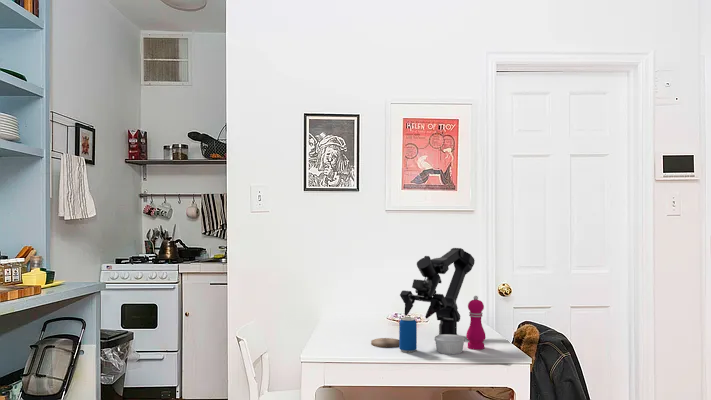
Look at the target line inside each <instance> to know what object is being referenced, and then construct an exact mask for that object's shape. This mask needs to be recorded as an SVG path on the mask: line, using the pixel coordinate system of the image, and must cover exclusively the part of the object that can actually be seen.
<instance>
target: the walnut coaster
mask: <svg viewBox="0 0 711 400" xmlns="http://www.w3.org/2000/svg"><path fill="white" fill-rule="evenodd" d="M370 342H371V343H370V344H371V346H374V347H376V348H399V339H397V338H392V337H391V338H390V337H380V338H374V339H372V340H371V341H370Z"/></svg>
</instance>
